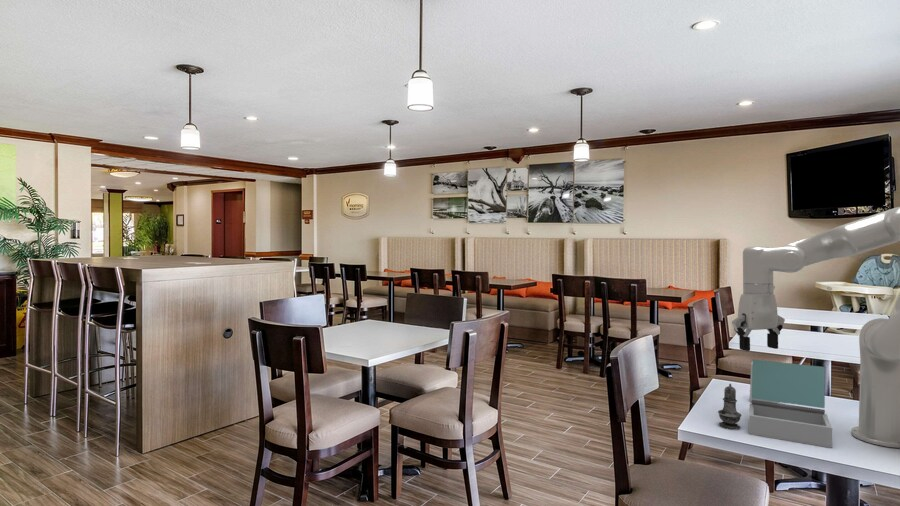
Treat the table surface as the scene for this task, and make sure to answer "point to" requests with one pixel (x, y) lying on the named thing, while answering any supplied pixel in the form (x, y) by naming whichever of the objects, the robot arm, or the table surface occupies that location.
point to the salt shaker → (729, 409)
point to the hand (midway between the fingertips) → (758, 349)
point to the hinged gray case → (790, 425)
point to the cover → (788, 385)
